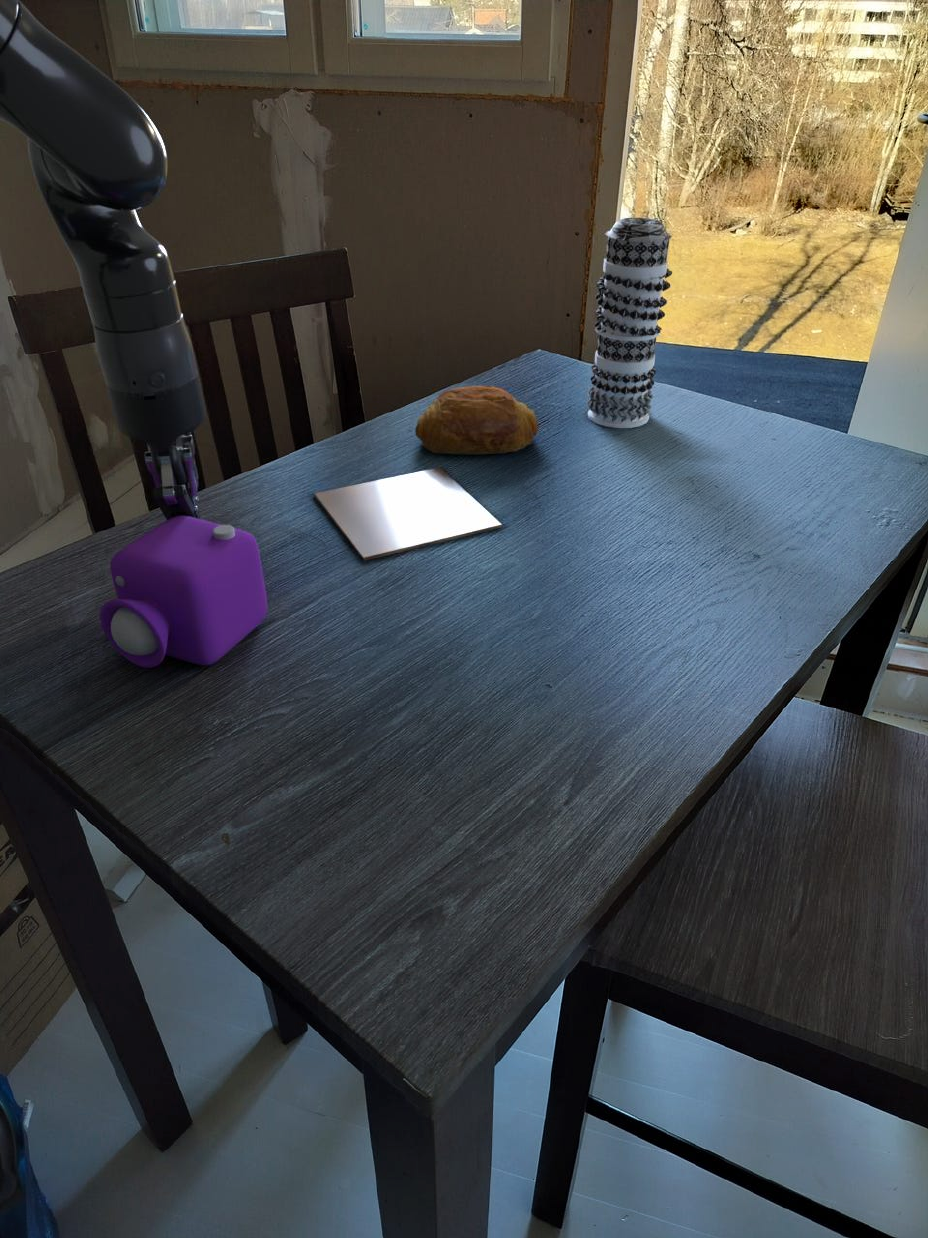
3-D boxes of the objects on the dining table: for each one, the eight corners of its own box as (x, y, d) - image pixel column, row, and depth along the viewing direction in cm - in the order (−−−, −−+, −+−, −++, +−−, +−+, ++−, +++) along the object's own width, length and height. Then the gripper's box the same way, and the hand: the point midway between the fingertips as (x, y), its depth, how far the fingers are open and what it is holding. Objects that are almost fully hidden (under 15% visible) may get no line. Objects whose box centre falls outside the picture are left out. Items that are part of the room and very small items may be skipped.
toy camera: (92, 681, 71) (59, 580, 65) (176, 593, 82) (154, 499, 76) (210, 702, 69) (187, 599, 63) (280, 609, 79) (266, 514, 74)
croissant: (534, 478, 107) (547, 418, 102) (411, 461, 106) (418, 400, 101) (528, 429, 119) (539, 374, 114) (417, 414, 117) (423, 357, 112)
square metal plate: (363, 561, 86) (363, 557, 86) (314, 496, 98) (314, 493, 98) (502, 527, 92) (502, 524, 92) (439, 470, 104) (439, 466, 104)
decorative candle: (662, 426, 115) (691, 226, 101) (598, 431, 114) (618, 229, 99) (637, 402, 123) (661, 212, 108) (576, 406, 121) (592, 215, 107)
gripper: (113, 347, 76) (158, 515, 87) (94, 408, 66) (147, 589, 77) (199, 340, 77) (233, 506, 88) (193, 398, 67) (232, 578, 78)
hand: (193, 545), depth 82 cm, fingers closed
